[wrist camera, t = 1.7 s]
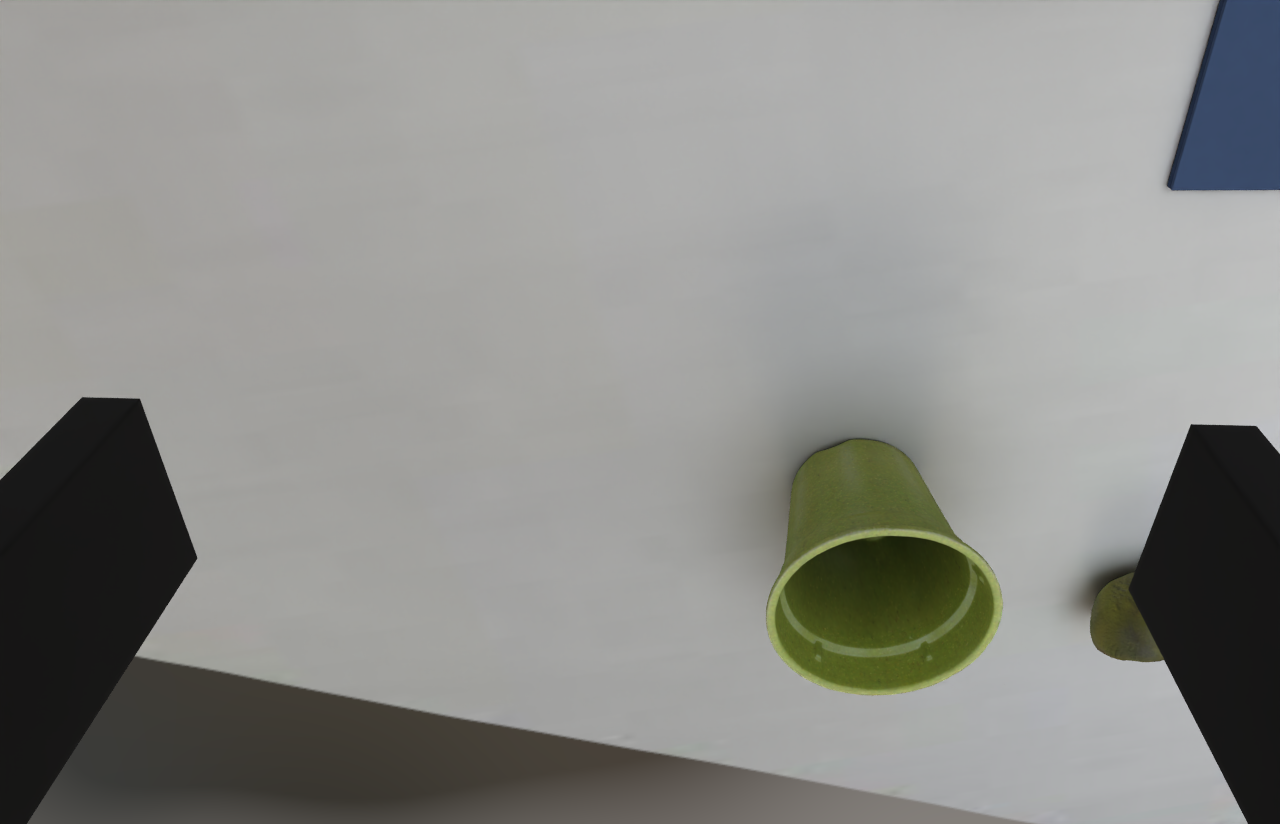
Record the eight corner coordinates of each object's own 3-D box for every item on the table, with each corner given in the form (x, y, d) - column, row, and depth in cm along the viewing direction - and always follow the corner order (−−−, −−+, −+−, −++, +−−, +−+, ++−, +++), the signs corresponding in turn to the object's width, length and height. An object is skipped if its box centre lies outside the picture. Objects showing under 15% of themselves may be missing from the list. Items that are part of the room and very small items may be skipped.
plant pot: (796, 384, 43) (813, 506, 36) (990, 434, 44) (1046, 563, 37) (732, 535, 48) (736, 668, 41) (907, 577, 49) (942, 715, 42)
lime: (1193, 571, 48) (1239, 647, 44) (1123, 630, 50) (1160, 707, 46) (1123, 536, 47) (1164, 610, 43) (1056, 598, 49) (1088, 674, 45)
